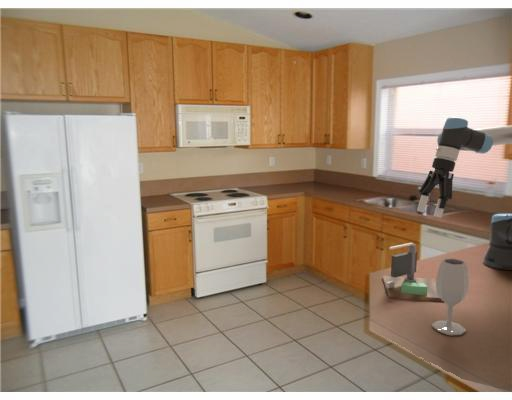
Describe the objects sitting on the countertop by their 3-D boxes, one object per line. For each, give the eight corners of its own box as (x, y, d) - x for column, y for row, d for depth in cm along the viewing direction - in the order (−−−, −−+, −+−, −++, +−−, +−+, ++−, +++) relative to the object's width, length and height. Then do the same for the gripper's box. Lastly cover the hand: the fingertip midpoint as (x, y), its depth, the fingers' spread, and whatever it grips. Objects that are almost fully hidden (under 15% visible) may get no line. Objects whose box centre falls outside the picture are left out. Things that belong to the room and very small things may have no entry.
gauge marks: (428, 291, 148) (428, 283, 147) (426, 296, 143) (426, 288, 143) (387, 284, 154) (388, 277, 154) (384, 289, 150) (385, 281, 149)
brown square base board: (432, 281, 161) (432, 278, 161) (446, 301, 142) (446, 298, 142) (382, 278, 165) (382, 275, 164) (389, 297, 145) (389, 294, 145)
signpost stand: (409, 278, 161) (411, 240, 158) (418, 281, 157) (421, 243, 154) (383, 285, 153) (385, 245, 151) (393, 288, 150) (395, 248, 147)
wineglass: (426, 326, 124) (430, 259, 121) (447, 320, 127) (452, 255, 124) (449, 339, 116) (455, 267, 113) (471, 333, 119) (477, 263, 116)
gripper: (420, 156, 164) (405, 207, 166) (453, 157, 139) (435, 217, 141) (438, 161, 165) (422, 211, 167) (474, 162, 140) (455, 222, 142)
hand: (428, 214), depth 154 cm, fingers open, 13 cm apart
